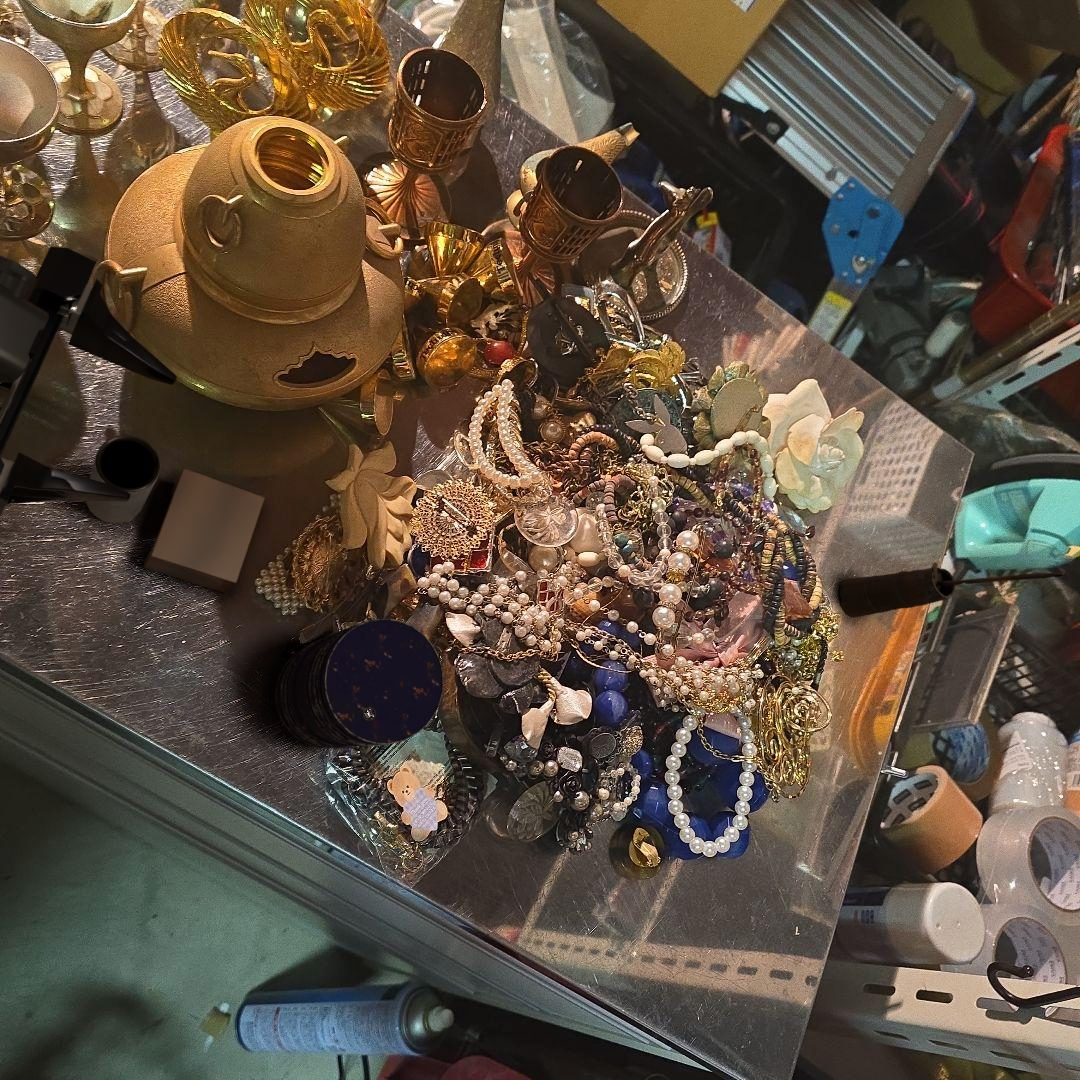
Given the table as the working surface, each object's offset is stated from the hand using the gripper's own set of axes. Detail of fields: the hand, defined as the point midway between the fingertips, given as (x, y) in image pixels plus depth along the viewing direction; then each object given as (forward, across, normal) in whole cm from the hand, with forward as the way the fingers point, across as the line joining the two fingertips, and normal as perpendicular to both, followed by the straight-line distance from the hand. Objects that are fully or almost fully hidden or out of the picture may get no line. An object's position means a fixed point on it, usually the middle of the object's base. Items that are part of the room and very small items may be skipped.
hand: (152, 438), depth 62 cm
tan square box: (+8, -1, +17) cm, 19 cm away
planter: (+1, 0, +18) cm, 18 cm away
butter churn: (+87, +20, +10) cm, 90 cm away
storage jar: (+23, -11, +16) cm, 30 cm away
